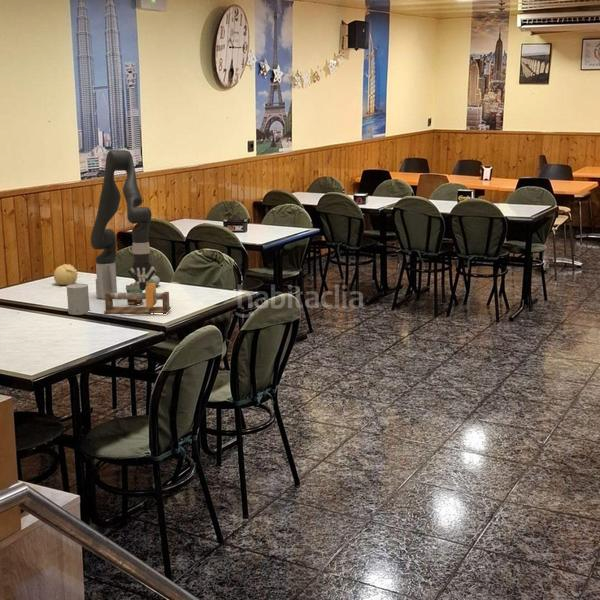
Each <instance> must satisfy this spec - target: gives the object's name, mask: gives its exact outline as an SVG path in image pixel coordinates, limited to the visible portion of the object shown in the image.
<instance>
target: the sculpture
mask: <svg viewBox="0 0 600 600" xmlns="http://www.w3.org/2000/svg"><path fill="white" fill-rule="evenodd" d="M53 280H54V282H55V283H56V284H57V285H60V286H67V285H71V284H76V282H77V280H78V270H77V269H76V268H75V267H74V265H72V264H69V263H68V264H67V263H63V264H62V265H59V266H57V267H55V269H54V272H53Z"/></svg>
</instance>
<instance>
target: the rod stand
mask: <svg viewBox="0 0 600 600" xmlns="http://www.w3.org/2000/svg"><path fill="white" fill-rule="evenodd" d="M153 297H154V300H159V301H160V300H161V301H162V306H153V307H146V306H128V305H127V306H123V305H122V306H118V305H116V306H114V302H113V300H127V299H131V300H145V301H146V293H145V292H143V293H127V292H117V293H112V292H107V293H105V299H104V304H105V307H104V308H105V310H104V311H103V312H104V314H151V313H153V314H154V313H163V314H166V313H167V312H168V311H169V310H170V309H171V310H172V308H171V307H172V306H171V305H170V292H169V291H163V292H156V293H153ZM171 310H170V311H171ZM170 311H169V312H170Z"/></svg>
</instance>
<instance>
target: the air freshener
mask: <svg viewBox="0 0 600 600" xmlns="http://www.w3.org/2000/svg"><path fill="white" fill-rule="evenodd" d="M152 268H153V269H155V267H154V266H152ZM150 271H151V270H149V272H148V273H147V277H146V278H148V276H149V275H150V274H151V273H150ZM155 274H156V272H155V273H154V275H153V276H152V277H151V279H150V280H149V281H146V286H147V285H148V284H156V287H157V286H158V285H159V284H160V282H161V279H160V277H159V276H157V274H156V275H155ZM142 278H143V277H142Z"/></svg>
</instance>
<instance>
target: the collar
mask: <svg viewBox="0 0 600 600" xmlns="http://www.w3.org/2000/svg"><path fill="white" fill-rule="evenodd" d="M144 293H146V300H145V307H155V305H156V304H157V300H154V297H153V293H157V286H156V284H148V285H147V286H146V287H145V290H144Z"/></svg>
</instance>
